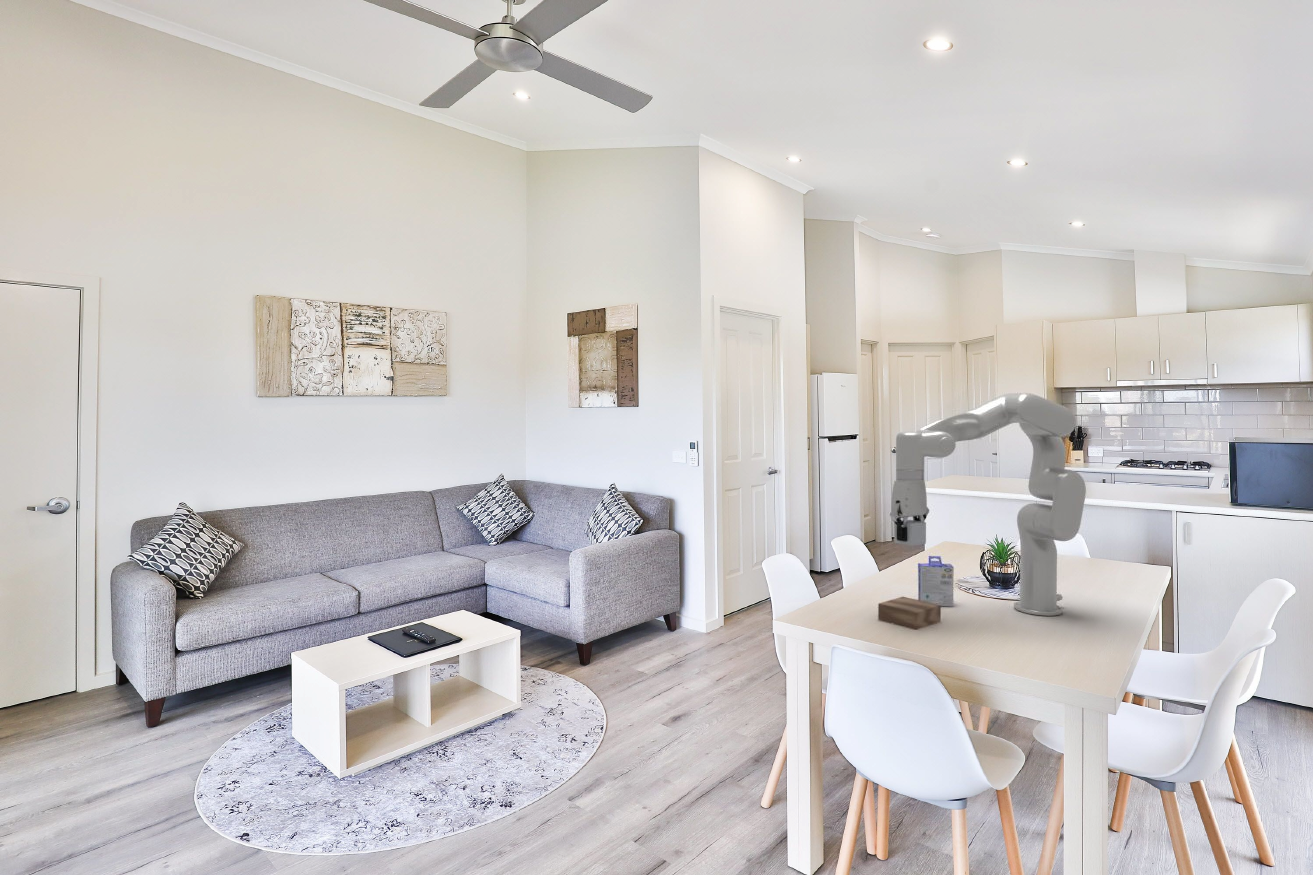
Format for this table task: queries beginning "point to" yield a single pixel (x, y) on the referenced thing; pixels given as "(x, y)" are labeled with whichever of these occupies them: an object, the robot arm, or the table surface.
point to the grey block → (913, 533)
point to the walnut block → (909, 612)
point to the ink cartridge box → (935, 582)
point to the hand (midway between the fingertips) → (909, 538)
